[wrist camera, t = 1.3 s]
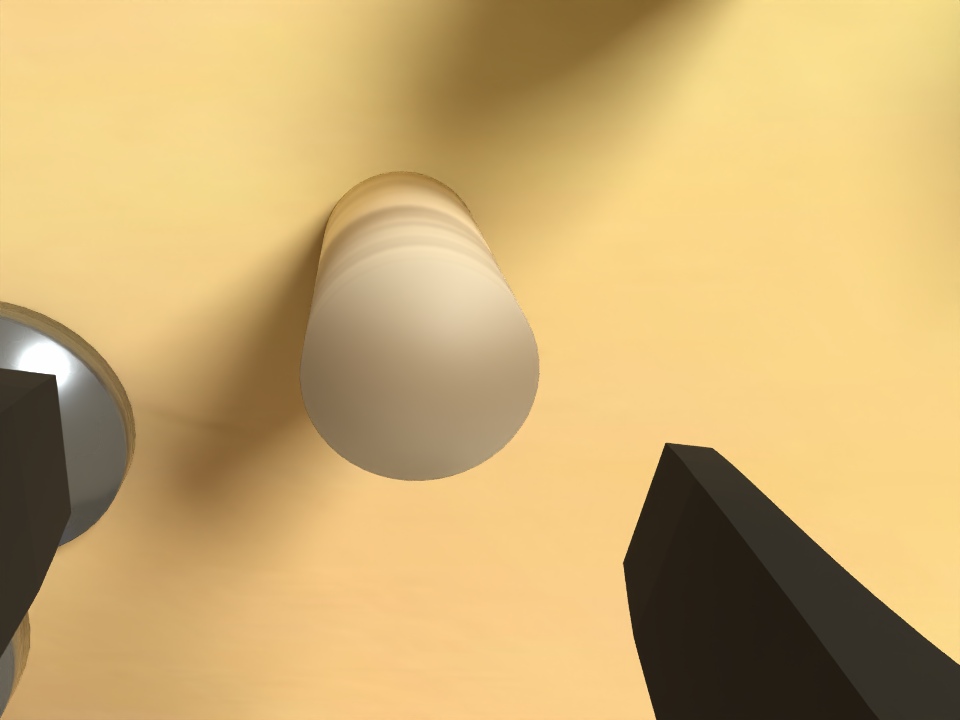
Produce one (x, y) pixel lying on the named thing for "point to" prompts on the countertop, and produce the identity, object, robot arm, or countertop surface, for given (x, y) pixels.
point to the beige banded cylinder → (414, 335)
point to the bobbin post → (70, 434)
